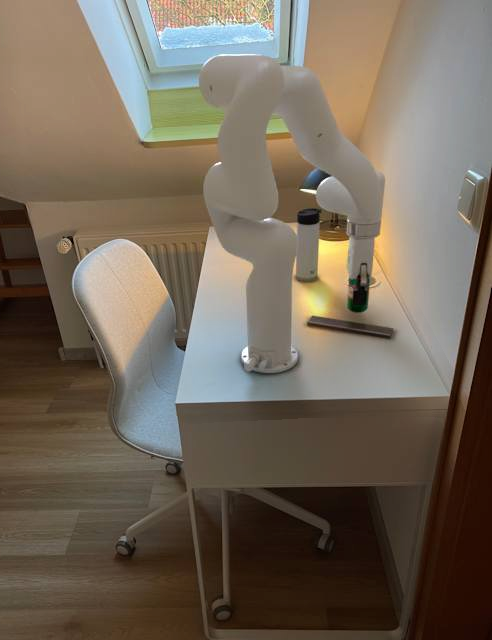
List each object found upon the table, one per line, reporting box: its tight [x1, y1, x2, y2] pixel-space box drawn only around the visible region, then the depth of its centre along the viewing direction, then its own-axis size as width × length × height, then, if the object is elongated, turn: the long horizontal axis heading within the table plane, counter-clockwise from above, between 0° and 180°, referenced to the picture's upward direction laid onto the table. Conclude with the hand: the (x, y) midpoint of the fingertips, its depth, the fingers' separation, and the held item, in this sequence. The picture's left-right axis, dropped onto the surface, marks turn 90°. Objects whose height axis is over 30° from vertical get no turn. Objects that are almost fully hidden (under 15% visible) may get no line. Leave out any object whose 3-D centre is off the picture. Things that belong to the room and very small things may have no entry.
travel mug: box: [295, 207, 322, 283], centre depth 154 cm, size 6×7×20 cm
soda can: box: [346, 275, 372, 314], centre depth 133 cm, size 5×5×12 cm
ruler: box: [306, 315, 394, 340], centre depth 132 cm, size 4×20×1 cm, turn 65°
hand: (357, 298), depth 135 cm, fingers closed on soda can, 5 cm apart
